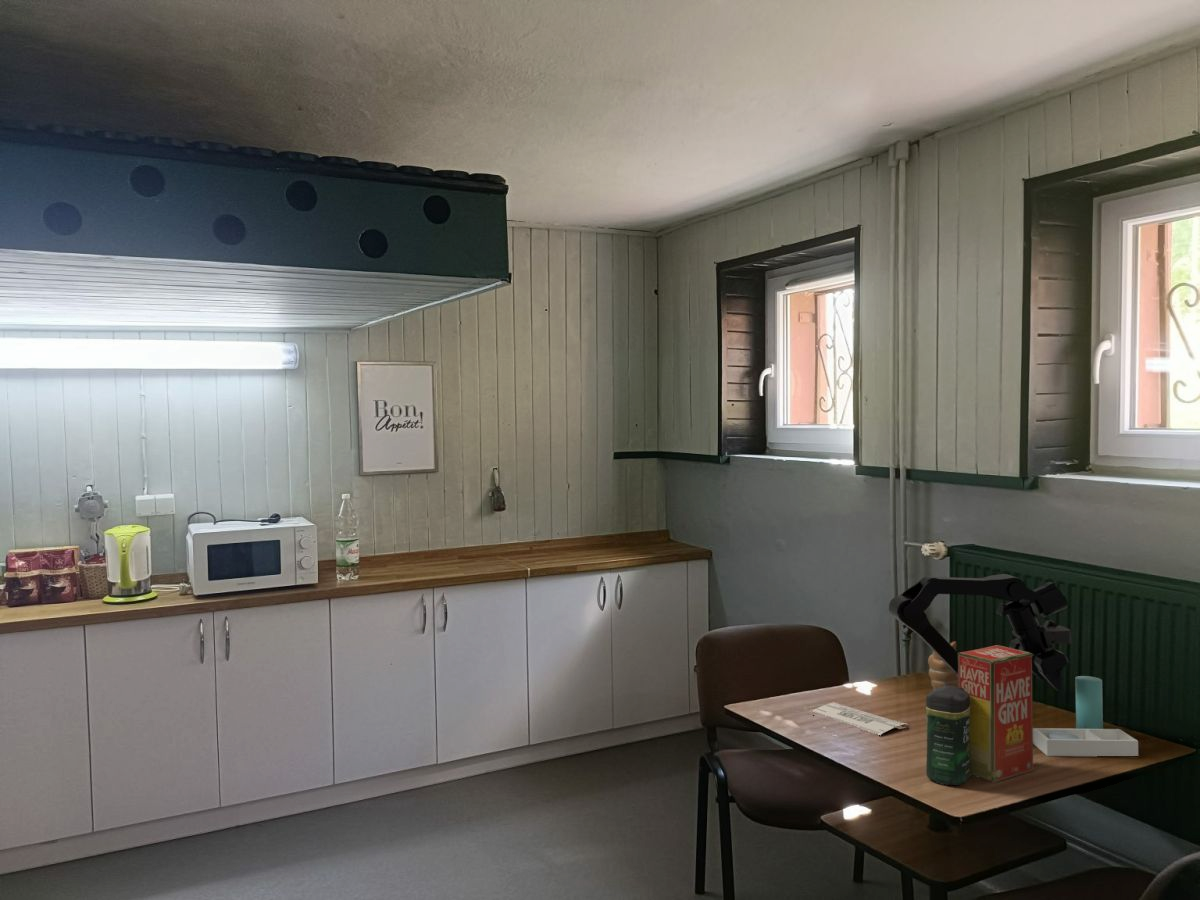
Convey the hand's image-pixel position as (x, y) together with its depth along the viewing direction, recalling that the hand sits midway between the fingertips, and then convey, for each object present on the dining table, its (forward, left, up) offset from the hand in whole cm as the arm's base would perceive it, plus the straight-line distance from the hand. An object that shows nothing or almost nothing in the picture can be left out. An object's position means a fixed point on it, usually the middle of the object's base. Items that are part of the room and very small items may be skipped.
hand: (1051, 685), depth 207 cm
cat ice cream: (-19, +17, -11) cm, 28 cm away
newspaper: (-44, +8, -12) cm, 46 cm away
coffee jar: (-32, -30, -11) cm, 46 cm away
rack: (+2, -12, -11) cm, 16 cm away
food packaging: (-21, -25, -11) cm, 35 cm away
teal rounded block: (+8, -1, -11) cm, 14 cm away
